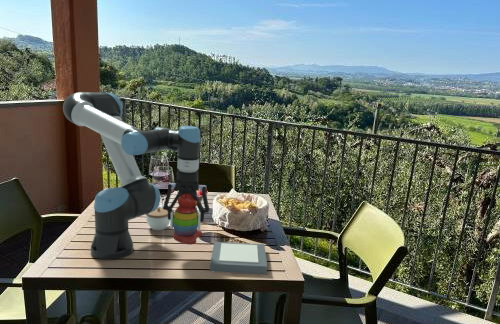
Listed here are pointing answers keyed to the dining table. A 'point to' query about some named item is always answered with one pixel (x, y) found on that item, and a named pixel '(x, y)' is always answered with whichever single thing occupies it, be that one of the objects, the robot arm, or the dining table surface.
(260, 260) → the slate plinth
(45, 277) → the dining table surface
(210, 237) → the dining table surface
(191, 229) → the stacking bear
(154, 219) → the lidded jar
